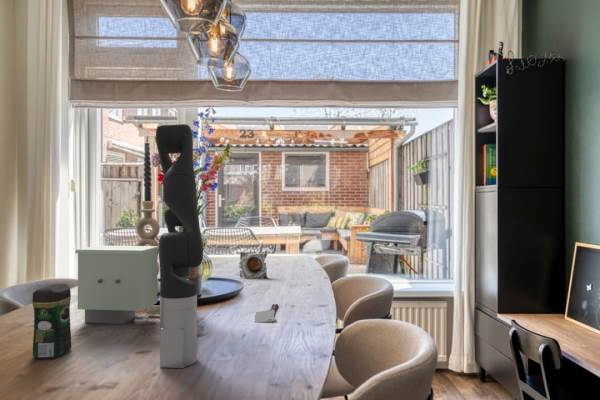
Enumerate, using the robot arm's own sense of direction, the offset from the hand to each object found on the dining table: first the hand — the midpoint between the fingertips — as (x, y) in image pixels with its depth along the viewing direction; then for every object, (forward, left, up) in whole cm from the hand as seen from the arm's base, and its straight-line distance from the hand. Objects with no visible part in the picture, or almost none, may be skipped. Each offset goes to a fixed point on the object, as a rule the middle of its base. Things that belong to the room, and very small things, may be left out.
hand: (179, 310), depth 159 cm
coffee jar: (-41, +20, -2) cm, 46 cm away
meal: (+81, -10, -2) cm, 82 cm away
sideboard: (-9, +18, -2) cm, 20 cm away
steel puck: (-8, +10, -2) cm, 13 cm away
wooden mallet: (0, +5, -1) cm, 5 cm away
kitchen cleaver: (+7, -30, -3) cm, 31 cm away
